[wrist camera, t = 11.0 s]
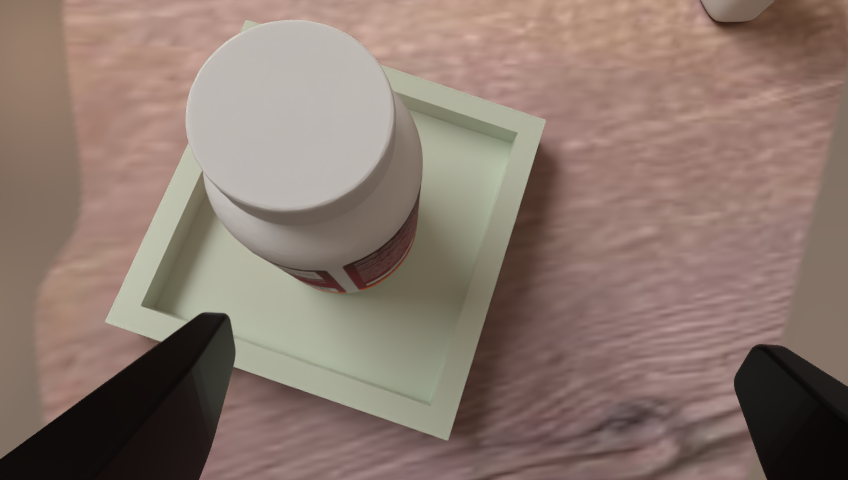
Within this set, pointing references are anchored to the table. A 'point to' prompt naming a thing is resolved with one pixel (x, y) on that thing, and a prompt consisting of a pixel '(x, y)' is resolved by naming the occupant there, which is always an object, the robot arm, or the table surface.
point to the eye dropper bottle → (735, 9)
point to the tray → (365, 310)
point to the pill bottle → (308, 153)
